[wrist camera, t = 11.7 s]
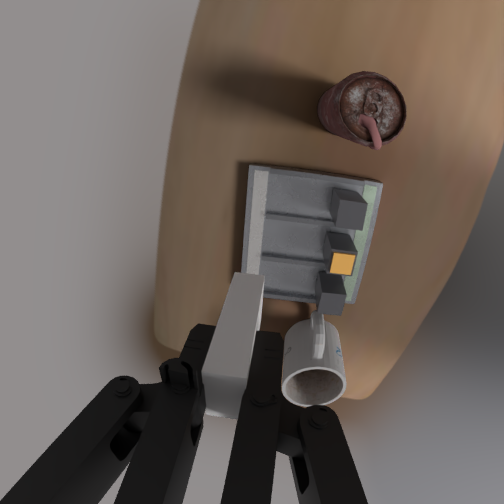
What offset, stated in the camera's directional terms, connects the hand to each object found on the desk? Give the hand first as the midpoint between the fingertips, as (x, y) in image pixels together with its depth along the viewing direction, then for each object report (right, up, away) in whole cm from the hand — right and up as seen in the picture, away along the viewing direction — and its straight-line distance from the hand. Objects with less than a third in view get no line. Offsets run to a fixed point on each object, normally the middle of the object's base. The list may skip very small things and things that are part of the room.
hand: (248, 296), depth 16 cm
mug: (+10, -10, +30) cm, 33 cm away
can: (+11, +19, +17) cm, 27 cm away
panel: (+7, +4, +23) cm, 25 cm away
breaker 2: (+11, +8, +19) cm, 24 cm away
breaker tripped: (+11, +3, +22) cm, 24 cm away
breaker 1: (+10, -2, +24) cm, 26 cm away
